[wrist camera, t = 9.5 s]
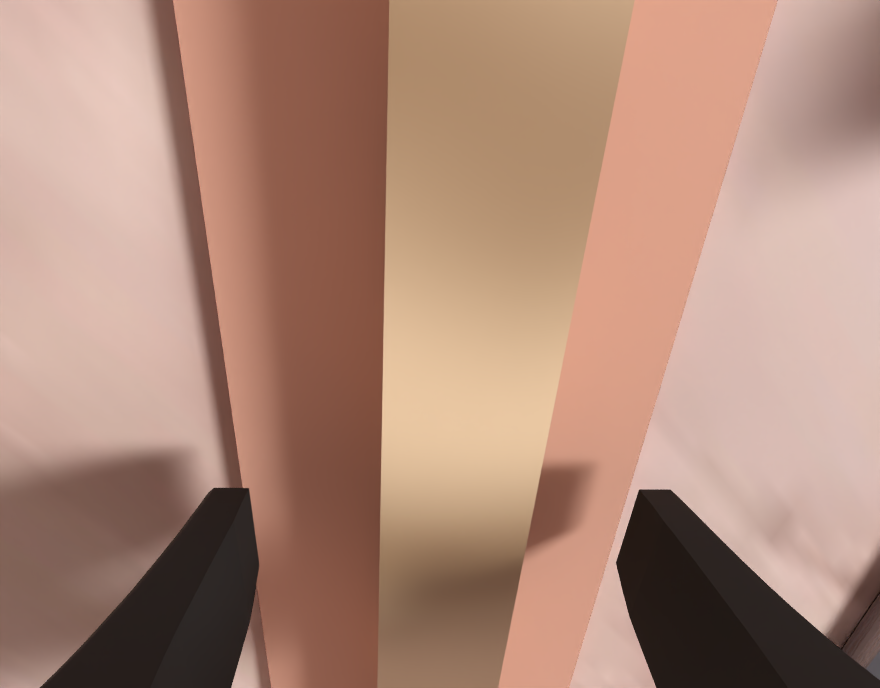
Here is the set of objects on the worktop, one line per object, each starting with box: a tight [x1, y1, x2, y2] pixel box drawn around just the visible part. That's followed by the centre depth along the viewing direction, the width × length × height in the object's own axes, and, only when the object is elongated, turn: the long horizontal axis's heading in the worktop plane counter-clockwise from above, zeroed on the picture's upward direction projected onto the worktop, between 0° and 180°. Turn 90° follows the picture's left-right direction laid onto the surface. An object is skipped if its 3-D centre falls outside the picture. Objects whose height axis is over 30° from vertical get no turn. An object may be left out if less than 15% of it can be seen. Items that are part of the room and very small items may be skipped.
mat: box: [173, 0, 778, 688], centre depth 12 cm, size 24×8×1 cm, turn 176°
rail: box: [377, 0, 635, 688], centre depth 11 cm, size 24×2×2 cm, turn 176°
